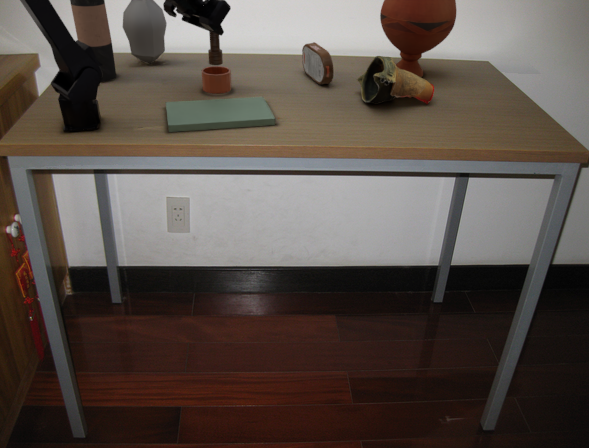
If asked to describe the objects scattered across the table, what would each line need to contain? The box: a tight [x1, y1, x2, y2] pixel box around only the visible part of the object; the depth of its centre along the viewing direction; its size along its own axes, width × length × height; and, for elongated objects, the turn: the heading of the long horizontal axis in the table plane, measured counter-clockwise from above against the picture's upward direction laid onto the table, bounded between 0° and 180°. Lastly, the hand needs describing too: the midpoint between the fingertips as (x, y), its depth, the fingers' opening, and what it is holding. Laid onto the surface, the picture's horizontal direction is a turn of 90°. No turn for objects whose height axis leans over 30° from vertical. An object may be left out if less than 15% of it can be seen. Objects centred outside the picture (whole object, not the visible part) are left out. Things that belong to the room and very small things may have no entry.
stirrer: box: [207, 31, 224, 66], centre depth 113 cm, size 3×3×13 cm
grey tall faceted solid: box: [122, 0, 168, 65], centre depth 128 cm, size 11×11×30 cm
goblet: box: [379, 0, 457, 78], centre depth 130 cm, size 19×19×25 cm
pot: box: [356, 55, 435, 105], centre depth 116 cm, size 17×11×18 cm
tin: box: [301, 42, 334, 85], centre depth 128 cm, size 15×3×8 cm, turn 22°
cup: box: [200, 65, 233, 95], centre depth 119 cm, size 7×7×5 cm
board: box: [165, 96, 276, 133], centre depth 107 cm, size 22×13×2 cm, turn 104°
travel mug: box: [69, 0, 117, 83], centre depth 120 cm, size 8×8×20 cm
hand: (219, 32), depth 114 cm, fingers closed on stirrer, 2 cm apart
